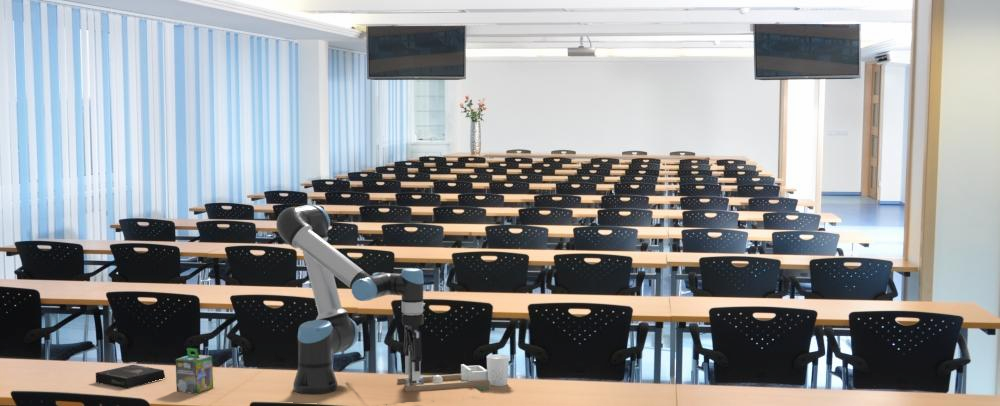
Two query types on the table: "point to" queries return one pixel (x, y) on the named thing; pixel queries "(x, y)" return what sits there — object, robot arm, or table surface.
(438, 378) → the ball
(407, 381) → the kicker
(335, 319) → the robot arm
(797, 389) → the table surface
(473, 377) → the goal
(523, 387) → the table surface
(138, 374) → the flat black box
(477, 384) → the pitch
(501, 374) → the white cup
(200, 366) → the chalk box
